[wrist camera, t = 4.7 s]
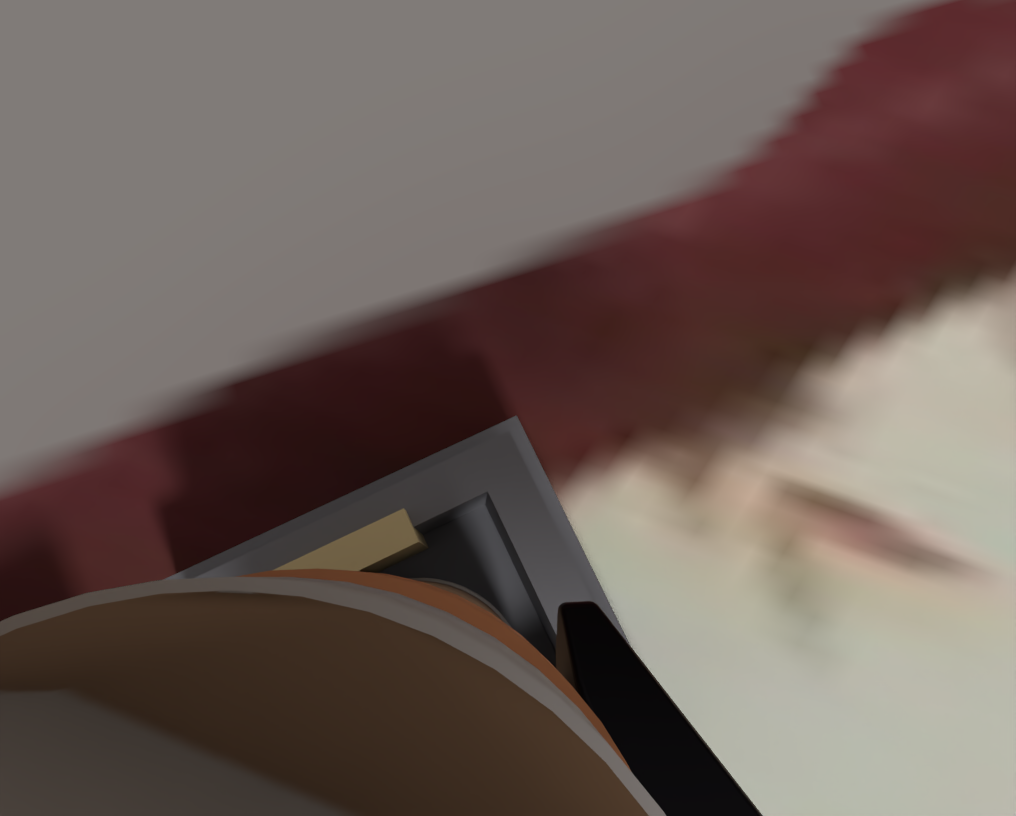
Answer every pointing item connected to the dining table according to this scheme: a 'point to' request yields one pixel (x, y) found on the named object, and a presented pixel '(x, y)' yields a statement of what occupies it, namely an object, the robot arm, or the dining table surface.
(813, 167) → the dining table surface
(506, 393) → the dining table surface
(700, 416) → the dining table surface
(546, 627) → the socket block
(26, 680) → the peg
